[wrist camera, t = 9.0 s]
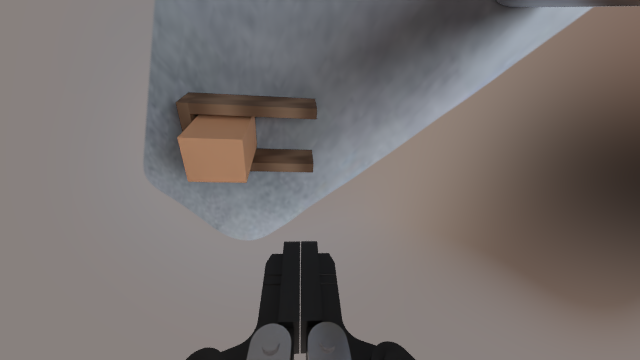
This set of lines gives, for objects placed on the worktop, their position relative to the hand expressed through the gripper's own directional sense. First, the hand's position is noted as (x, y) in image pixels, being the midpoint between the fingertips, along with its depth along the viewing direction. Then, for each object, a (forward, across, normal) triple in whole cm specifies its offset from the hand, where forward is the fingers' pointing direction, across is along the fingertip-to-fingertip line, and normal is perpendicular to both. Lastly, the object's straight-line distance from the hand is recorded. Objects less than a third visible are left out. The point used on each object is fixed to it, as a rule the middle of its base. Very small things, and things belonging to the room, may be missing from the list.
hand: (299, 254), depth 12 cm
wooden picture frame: (+25, +5, +4) cm, 25 cm away
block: (+24, +9, +4) cm, 26 cm away
